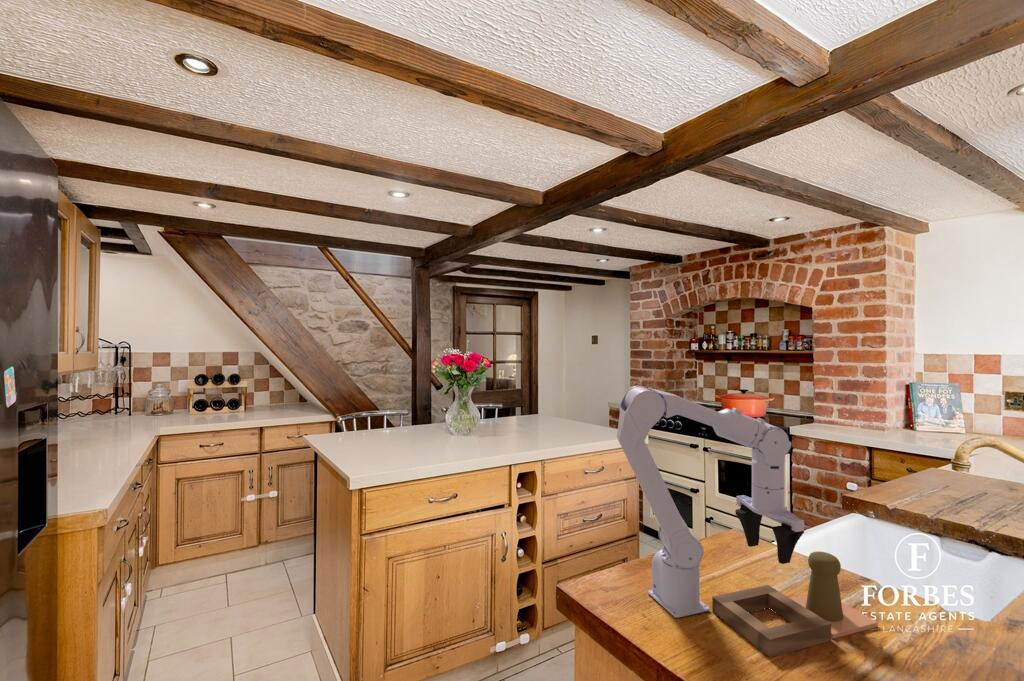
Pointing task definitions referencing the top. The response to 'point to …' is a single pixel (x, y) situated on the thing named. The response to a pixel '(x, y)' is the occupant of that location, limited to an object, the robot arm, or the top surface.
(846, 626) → the terracotta tile
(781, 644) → the walnut holder
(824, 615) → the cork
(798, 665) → the top surface
